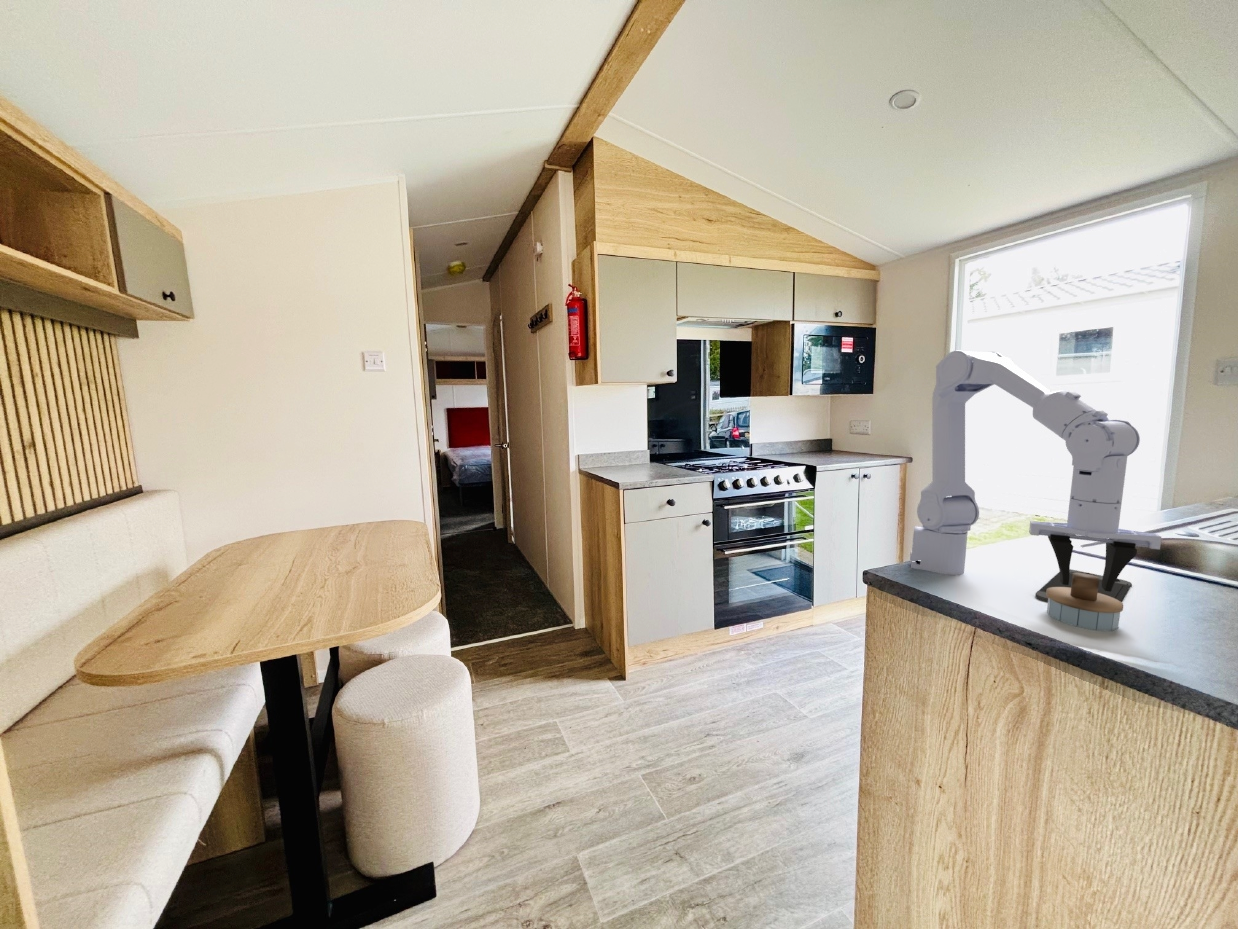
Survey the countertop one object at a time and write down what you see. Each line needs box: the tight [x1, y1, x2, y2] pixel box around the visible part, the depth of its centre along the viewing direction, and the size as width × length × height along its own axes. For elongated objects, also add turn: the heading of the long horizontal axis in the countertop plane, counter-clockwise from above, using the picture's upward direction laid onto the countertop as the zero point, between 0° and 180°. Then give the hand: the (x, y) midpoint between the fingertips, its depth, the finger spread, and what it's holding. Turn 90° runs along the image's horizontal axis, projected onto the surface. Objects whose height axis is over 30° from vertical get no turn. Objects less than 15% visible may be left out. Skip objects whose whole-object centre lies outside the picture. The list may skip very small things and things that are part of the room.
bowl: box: [1046, 598, 1121, 632], centre depth 78 cm, size 8×8×4 cm
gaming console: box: [1035, 568, 1133, 603], centre depth 90 cm, size 24×1×10 cm
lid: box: [1046, 573, 1124, 613], centre depth 78 cm, size 9×9×4 cm
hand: (1085, 586), depth 77 cm, fingers open, 4 cm apart
